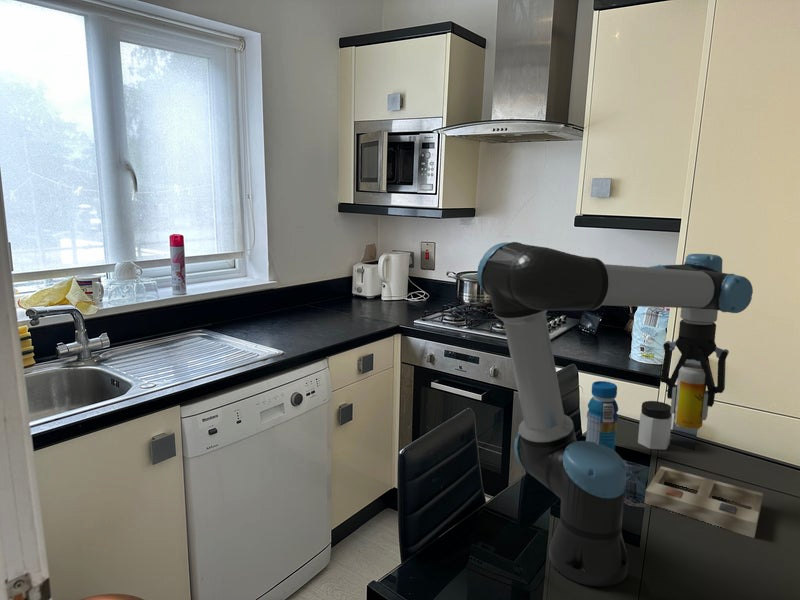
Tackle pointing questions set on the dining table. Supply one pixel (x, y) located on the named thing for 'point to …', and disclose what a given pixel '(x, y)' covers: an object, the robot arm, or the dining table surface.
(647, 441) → the jar
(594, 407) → the beverage bottle
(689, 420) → the beer can
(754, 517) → the socket board
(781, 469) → the dining table surface
